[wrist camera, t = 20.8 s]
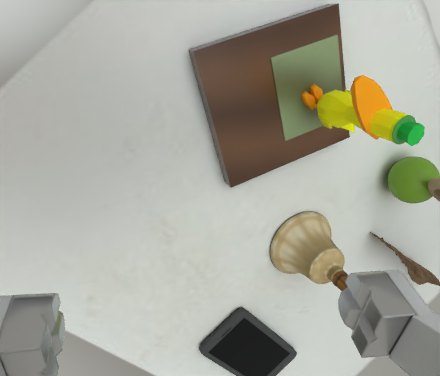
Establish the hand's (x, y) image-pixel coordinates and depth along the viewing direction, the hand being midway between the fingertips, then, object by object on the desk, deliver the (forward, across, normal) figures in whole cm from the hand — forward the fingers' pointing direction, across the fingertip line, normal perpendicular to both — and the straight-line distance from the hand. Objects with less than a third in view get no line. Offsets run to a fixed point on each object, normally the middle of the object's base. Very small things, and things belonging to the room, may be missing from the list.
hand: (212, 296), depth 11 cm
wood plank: (+26, -32, +26) cm, 49 cm away
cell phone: (+20, -11, +35) cm, 42 cm away
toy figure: (+25, -14, +3) cm, 29 cm away
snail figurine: (+28, -28, +13) cm, 41 cm away
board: (+26, -10, +4) cm, 28 cm away
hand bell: (+24, -16, +21) cm, 35 cm away
